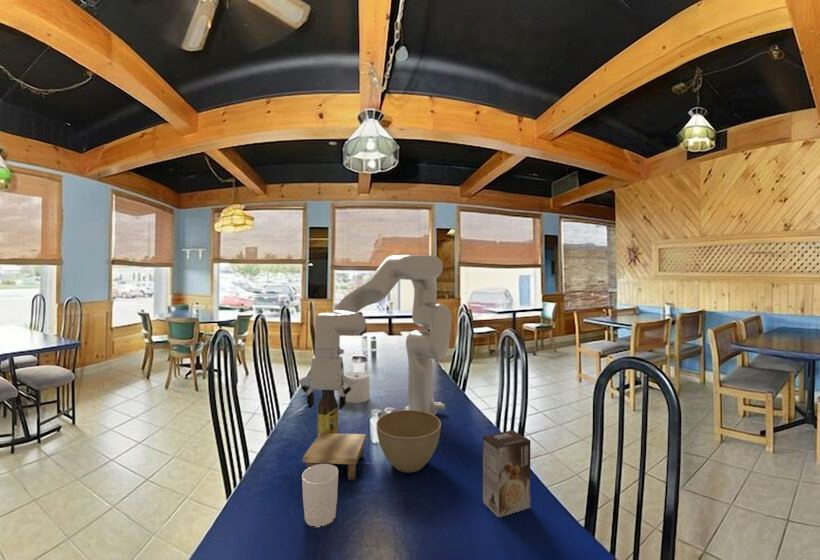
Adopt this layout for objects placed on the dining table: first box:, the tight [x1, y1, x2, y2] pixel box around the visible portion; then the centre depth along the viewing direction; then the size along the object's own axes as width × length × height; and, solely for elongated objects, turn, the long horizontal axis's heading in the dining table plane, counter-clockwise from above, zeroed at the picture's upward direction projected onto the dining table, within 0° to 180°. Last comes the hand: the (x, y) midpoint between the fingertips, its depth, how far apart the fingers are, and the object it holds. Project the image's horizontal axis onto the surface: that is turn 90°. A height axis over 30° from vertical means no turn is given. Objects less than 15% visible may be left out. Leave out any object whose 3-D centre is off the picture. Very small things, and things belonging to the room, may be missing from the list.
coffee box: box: [482, 429, 531, 519], centre depth 85 cm, size 9×6×16 cm
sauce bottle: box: [317, 390, 339, 436], centre depth 115 cm, size 7×6×20 cm
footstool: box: [302, 432, 367, 481], centre depth 102 cm, size 14×14×6 cm
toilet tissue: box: [337, 371, 370, 404], centre depth 155 cm, size 11×12×10 cm
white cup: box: [301, 463, 339, 528], centre depth 81 cm, size 8×8×10 cm
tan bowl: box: [376, 409, 442, 474], centre depth 103 cm, size 18×18×12 cm
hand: (326, 407), depth 114 cm, fingers open, 9 cm apart
